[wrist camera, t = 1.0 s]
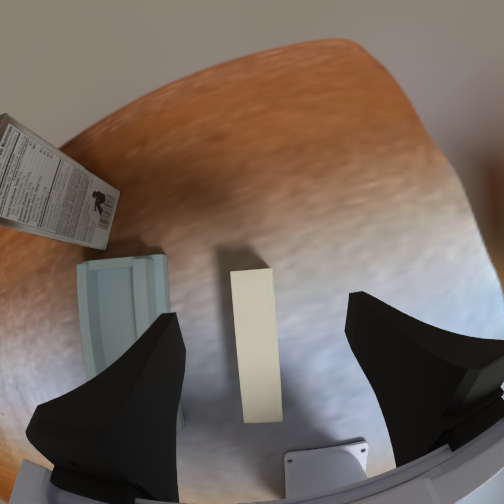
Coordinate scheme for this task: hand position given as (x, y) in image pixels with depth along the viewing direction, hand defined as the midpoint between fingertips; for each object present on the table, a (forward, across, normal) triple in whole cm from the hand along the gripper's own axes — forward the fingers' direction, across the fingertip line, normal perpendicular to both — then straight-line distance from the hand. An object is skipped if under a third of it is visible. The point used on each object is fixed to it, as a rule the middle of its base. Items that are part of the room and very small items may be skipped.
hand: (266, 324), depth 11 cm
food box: (+17, +17, -2) cm, 24 cm away
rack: (+10, +12, +9) cm, 18 cm away
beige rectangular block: (+9, 0, +9) cm, 12 cm away
